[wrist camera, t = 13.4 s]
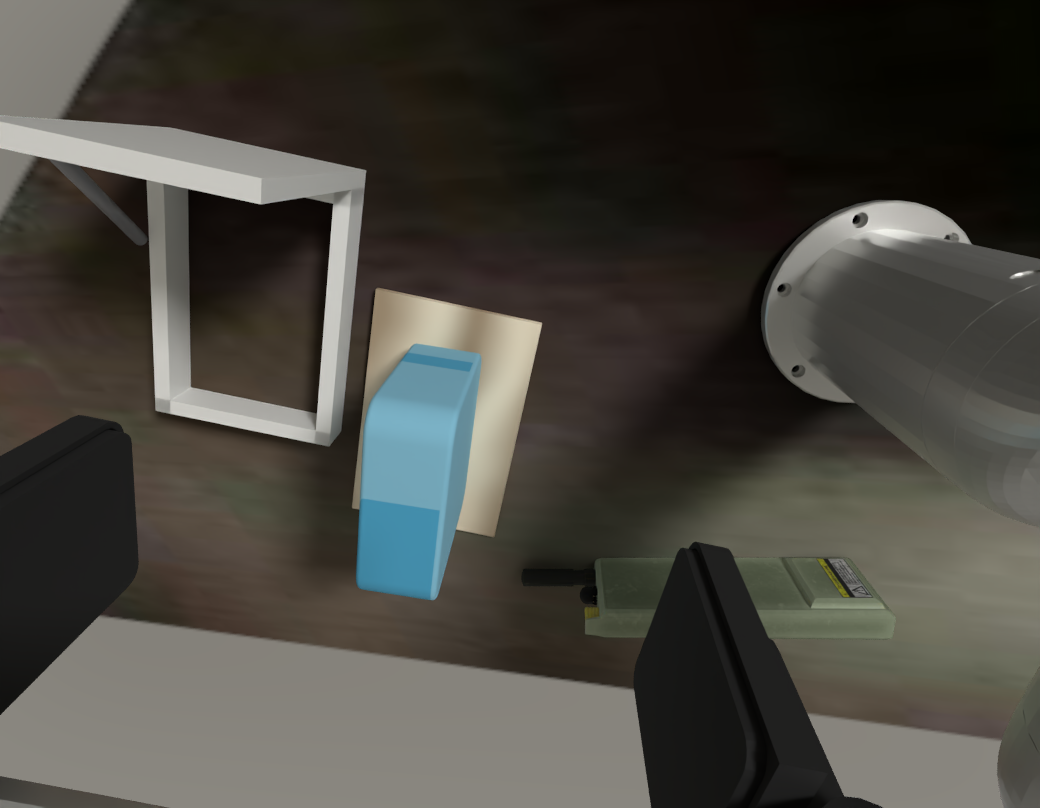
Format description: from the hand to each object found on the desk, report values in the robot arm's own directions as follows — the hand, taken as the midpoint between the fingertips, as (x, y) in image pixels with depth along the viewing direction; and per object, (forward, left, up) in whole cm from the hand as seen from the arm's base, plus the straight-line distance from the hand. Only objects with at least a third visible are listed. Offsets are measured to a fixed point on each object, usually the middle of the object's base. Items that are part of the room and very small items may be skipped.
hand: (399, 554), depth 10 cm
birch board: (+3, +12, -30) cm, 33 cm away
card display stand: (+16, +6, -30) cm, 35 cm away
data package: (+3, +12, -30) cm, 32 cm away
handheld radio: (-17, +20, -31) cm, 41 cm away
